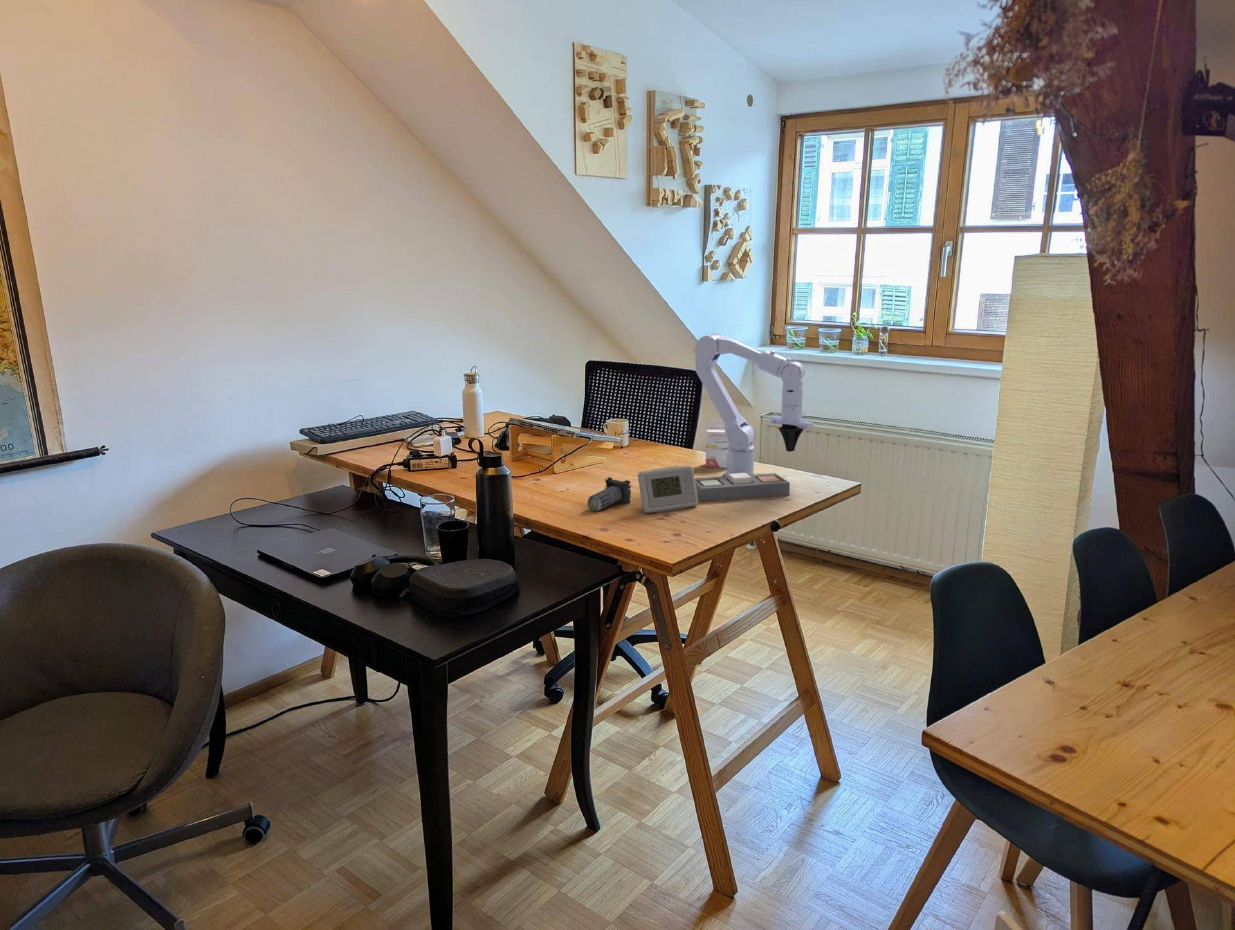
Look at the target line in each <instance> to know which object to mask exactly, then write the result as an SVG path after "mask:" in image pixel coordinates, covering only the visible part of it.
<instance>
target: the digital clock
mask: <svg viewBox="0 0 1235 930" xmlns="http://www.w3.org/2000/svg"><path fill="white" fill-rule="evenodd" d="M695 478H696V477H695V472H694V468H693V466H692V465H683V466H670V467H661V468H655V469H651V470H643V471H639V472H638V473H637V480H638V486H639V492H640V499H641V505H642V509H643V512H644V513H645V514H652V513H657V514H659V513H665V512H670V511H676V510H677V511H678V510H684V509H687V508H691V507H697V506H698V505H699V498H698V496H697V490H696V484H695Z"/></svg>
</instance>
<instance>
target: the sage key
mask: <svg viewBox="0 0 1235 930" xmlns="http://www.w3.org/2000/svg"><path fill="white" fill-rule="evenodd" d="M699 484H700V485H701V486H716V485H722V484H721V483H720V482H719V481H717V480H704V481H699Z"/></svg>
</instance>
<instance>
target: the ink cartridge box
mask: <svg viewBox="0 0 1235 930" xmlns="http://www.w3.org/2000/svg"><path fill="white" fill-rule="evenodd" d="M719 423H721V424H719ZM729 449H730V446H729V444H728V437H727V434H726V432H725V423H724V421H723V420H722V419H720V418H719V419H707V420H706V429H705V467H706V468H726V467H727V452H728V450H729Z"/></svg>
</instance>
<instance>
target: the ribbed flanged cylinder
mask: <svg viewBox="0 0 1235 930" xmlns="http://www.w3.org/2000/svg"><path fill="white" fill-rule="evenodd" d="M603 481H605V485H606V486H605V487H604V489H602V490H599V492H596V493H595V494H593V495H591V496H589V498H588V499H587V507H588V509H589V510H591V511H593V512H600V511H601V510H603V509H606V508H607V507H609V506H612V505H613V504H615V503H617V501H618V503H622V502H623V504H627V505H629V504H631V497H632V491H631V490H632V489H631V488H632V486H631V484H632V482H631V481H630V480H627V479H625V480H617V479H613V478H612V477H607V478H606V477H605V478H604V479H603ZM599 510H600V511H599Z"/></svg>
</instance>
